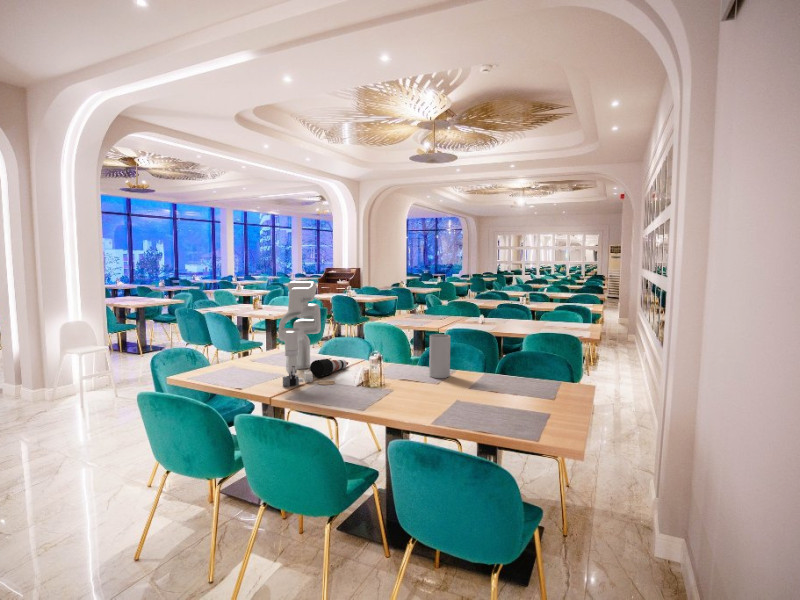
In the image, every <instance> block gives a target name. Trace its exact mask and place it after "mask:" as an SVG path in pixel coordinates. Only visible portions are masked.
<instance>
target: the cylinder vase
mask: <svg viewBox="0 0 800 600" xmlns="http://www.w3.org/2000/svg"><path fill="white" fill-rule="evenodd" d="M428 357H429V359H428V360H429V365H428V368H429V369H428V371H429V372H428V374H429V377H430V376H431V377H430V378H433V379H447V377H448V378H450V375H451V372H450V371H451V335H449V334H445V333H444V334H442V333H434V334H430V335H429V355H428Z"/></svg>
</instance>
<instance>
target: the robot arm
mask: <svg viewBox="0 0 800 600" xmlns="http://www.w3.org/2000/svg"><path fill="white" fill-rule="evenodd" d="M287 289H288V291H289V295H288V305H287V307H288V309H287V312H286V313H285V314H284V315H283V316H282V317H281V319H280V321H279V324H278V332H277V333H278V334H277V335H278V336H277V337H278V340H279V341H280V342H284V356H285V358H286V359H285V361H286V363H285V364H286V365H285V367H286V368H285V371H286V372H287V374H288V376H290V386H289V387H296V386H295V385H296V375H297V373H298V370H303V369H304V370H305V369H307V370H308V369H310V366H311V340H310V338H309V336H308V335H311V334H312V335H315V334H319V333H320V332H321V331H322V324H321V323H322V322H321V308H320V306H319V304H317V303H309V302H312V301H314V300H315V296H316V293H317V283H316V282H315V281H312V280H292V281H289V282H288V284H287ZM295 318H298V319H296V320H295V321H294V322H293V327H291V328H290V327H285V326H286V324H287V323H288V322H290V321H291V320H293V319H295Z"/></svg>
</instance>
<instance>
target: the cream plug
mask: <svg viewBox="0 0 800 600" xmlns="http://www.w3.org/2000/svg"><path fill="white" fill-rule="evenodd" d="M313 379H314V376H313V373H312V372H311V371H310V369H307V370H303V382H305V383H312V382H314V380H313Z"/></svg>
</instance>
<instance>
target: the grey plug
mask: <svg viewBox="0 0 800 600" xmlns="http://www.w3.org/2000/svg"><path fill="white" fill-rule="evenodd" d="M302 382H304V377H299V375H297V374H296V385H295V386H294V387H297V386H300V385H299V383H302ZM282 387H291V386H290V376H289V375H284V376H282Z"/></svg>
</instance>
